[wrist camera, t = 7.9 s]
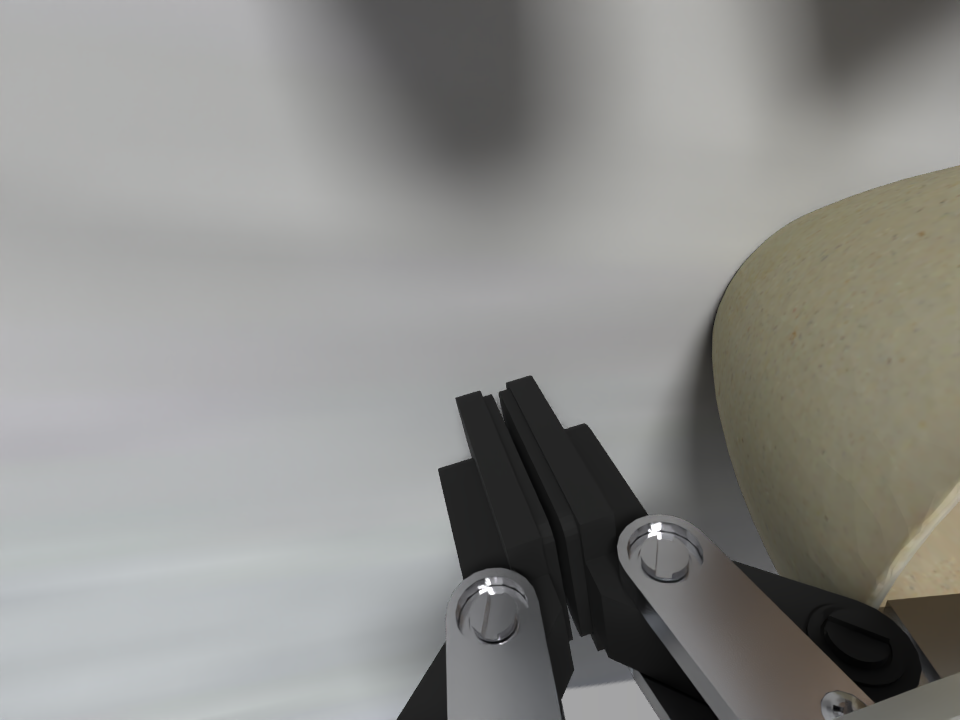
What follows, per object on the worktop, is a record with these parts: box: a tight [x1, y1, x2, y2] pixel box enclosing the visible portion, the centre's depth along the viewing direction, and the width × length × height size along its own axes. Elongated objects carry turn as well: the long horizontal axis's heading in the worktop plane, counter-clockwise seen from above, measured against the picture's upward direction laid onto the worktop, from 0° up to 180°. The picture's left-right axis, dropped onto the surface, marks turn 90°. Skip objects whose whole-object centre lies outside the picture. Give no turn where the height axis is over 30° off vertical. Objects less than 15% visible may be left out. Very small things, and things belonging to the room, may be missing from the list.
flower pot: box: [712, 165, 960, 610], centre depth 10 cm, size 10×10×7 cm
